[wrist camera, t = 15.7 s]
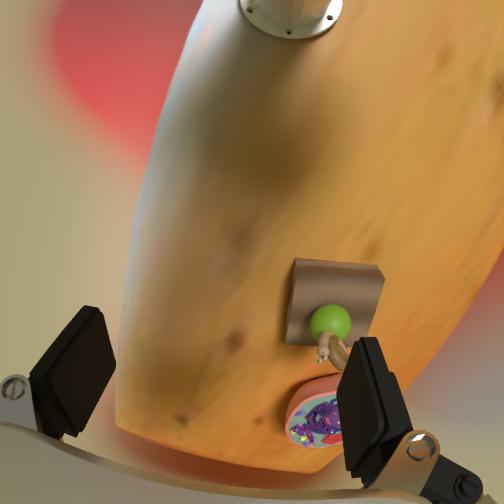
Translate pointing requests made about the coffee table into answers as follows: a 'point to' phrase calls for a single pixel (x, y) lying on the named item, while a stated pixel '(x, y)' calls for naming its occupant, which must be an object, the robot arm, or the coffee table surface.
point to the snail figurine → (331, 334)
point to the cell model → (315, 414)
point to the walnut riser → (332, 297)
